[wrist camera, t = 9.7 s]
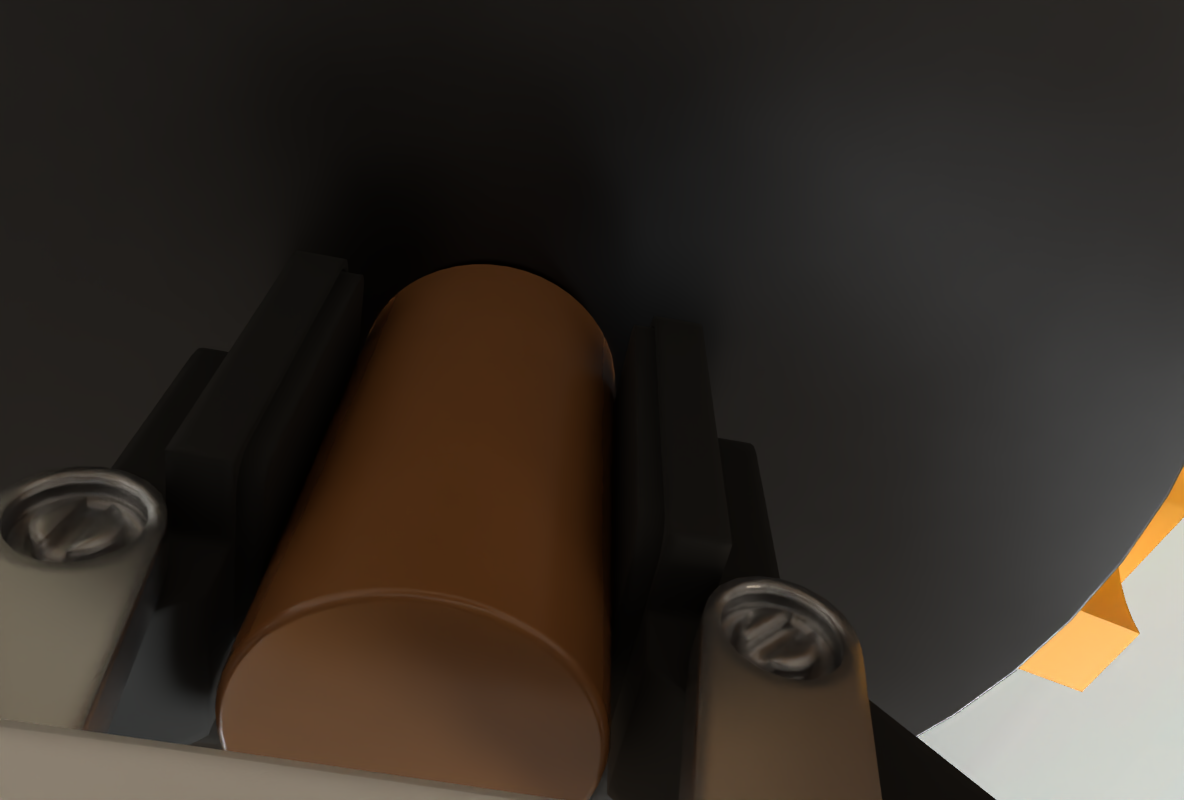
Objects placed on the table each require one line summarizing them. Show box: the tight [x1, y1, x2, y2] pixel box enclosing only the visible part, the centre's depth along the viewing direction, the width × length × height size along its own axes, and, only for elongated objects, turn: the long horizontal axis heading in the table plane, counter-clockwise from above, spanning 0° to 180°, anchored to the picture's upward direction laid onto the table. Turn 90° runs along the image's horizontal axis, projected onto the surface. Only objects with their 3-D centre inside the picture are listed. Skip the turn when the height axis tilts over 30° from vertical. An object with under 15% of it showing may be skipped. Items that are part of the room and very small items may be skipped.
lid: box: [0, 0, 1184, 800], centre depth 11 cm, size 17×17×7 cm
